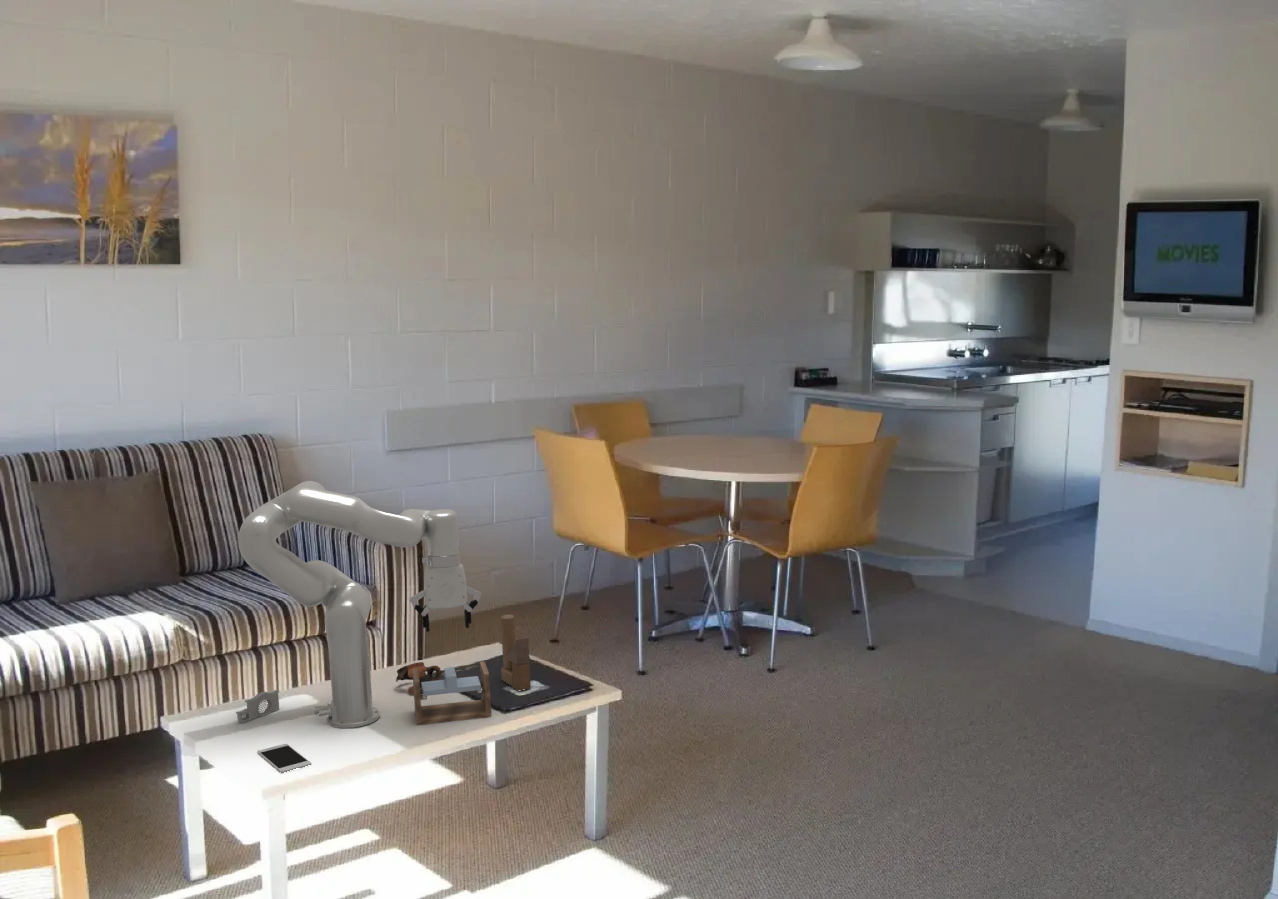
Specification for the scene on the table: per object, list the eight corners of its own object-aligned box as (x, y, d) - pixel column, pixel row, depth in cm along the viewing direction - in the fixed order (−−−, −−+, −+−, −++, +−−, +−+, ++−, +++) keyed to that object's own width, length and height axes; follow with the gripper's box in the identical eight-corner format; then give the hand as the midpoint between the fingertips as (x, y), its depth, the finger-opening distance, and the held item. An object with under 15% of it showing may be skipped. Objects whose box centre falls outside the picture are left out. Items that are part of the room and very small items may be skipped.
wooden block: (518, 692, 317) (515, 625, 314) (501, 680, 326) (497, 615, 323) (531, 689, 319) (528, 622, 316) (513, 678, 328) (510, 613, 325)
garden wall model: (240, 724, 300) (238, 701, 299) (236, 723, 301) (234, 700, 300) (281, 709, 309) (279, 687, 308) (276, 708, 310) (275, 686, 310)
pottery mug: (399, 700, 315) (391, 669, 318) (405, 703, 324) (396, 674, 327) (444, 684, 317) (435, 654, 319) (448, 688, 326) (440, 659, 328)
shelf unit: (417, 725, 296) (414, 681, 294) (414, 710, 305) (412, 668, 304) (491, 716, 300) (489, 673, 298) (486, 702, 310) (484, 661, 308)
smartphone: (281, 775, 270) (281, 771, 270) (256, 754, 282) (256, 750, 282) (312, 766, 274) (312, 762, 274) (286, 746, 286) (286, 742, 286)
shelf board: (423, 696, 297) (422, 679, 296) (421, 686, 303) (420, 670, 303) (481, 689, 300) (480, 673, 299) (477, 680, 307) (477, 664, 306)
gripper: (408, 567, 291) (412, 636, 294) (481, 561, 295) (484, 629, 298) (407, 559, 298) (410, 627, 301) (477, 554, 302) (480, 621, 305)
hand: (447, 628), depth 299 cm, fingers open, 9 cm apart
